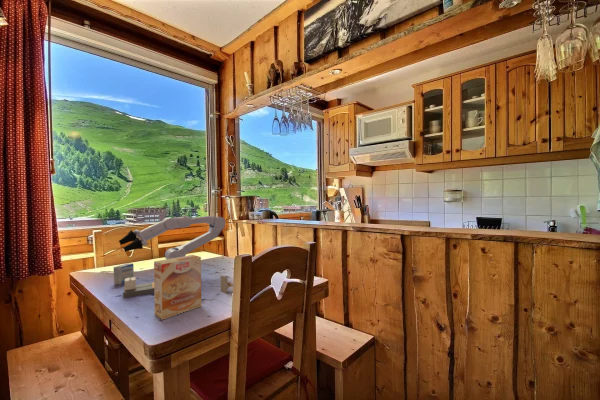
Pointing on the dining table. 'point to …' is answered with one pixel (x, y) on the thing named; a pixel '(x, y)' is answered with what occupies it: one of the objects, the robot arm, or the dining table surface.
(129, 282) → the fader knob
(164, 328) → the dining table surface
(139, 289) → the fader panel
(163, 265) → the coffeecake box
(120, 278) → the medicine box
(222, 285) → the architectural model
